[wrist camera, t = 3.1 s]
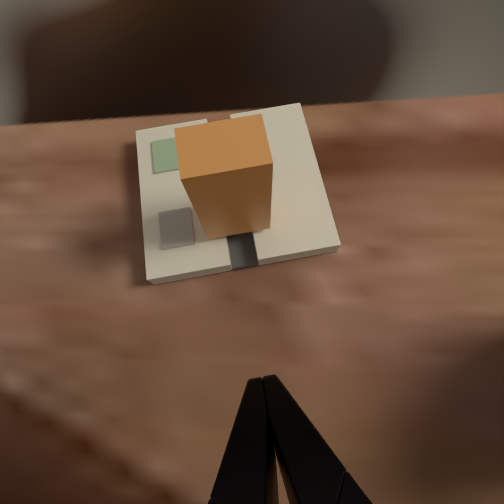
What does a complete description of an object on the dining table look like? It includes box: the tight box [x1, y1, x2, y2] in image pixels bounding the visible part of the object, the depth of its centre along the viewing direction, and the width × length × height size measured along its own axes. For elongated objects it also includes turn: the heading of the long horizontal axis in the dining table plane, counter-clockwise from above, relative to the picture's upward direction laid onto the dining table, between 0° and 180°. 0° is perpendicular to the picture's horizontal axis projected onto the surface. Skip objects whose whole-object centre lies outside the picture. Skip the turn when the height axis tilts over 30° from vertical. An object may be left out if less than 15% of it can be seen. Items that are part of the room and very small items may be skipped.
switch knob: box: [174, 114, 273, 239], centre depth 20 cm, size 3×4×9 cm, turn 100°
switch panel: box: [136, 103, 341, 285], centre depth 25 cm, size 13×14×2 cm
